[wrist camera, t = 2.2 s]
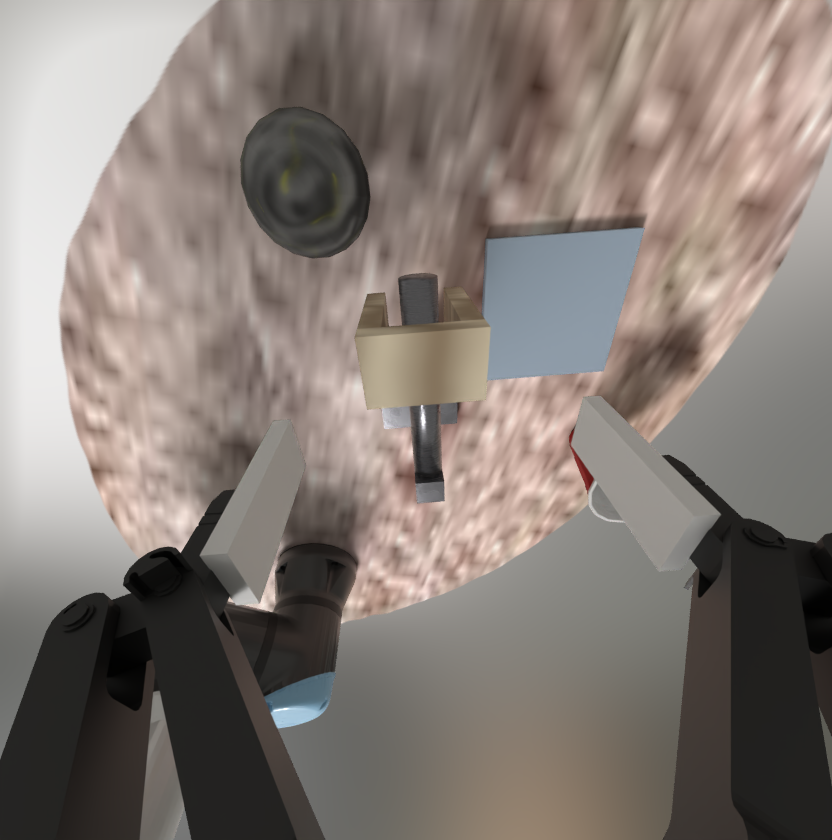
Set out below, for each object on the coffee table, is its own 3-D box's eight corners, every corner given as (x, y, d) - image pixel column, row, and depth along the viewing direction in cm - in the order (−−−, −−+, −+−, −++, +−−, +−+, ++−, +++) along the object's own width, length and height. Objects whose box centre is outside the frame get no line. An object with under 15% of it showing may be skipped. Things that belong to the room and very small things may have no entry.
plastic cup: (620, 391, 45) (683, 445, 35) (628, 445, 51) (684, 505, 41) (543, 421, 48) (582, 480, 38) (559, 470, 53) (596, 532, 43)
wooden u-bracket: (375, 349, 31) (367, 409, 22) (367, 293, 28) (354, 337, 19) (460, 342, 31) (485, 400, 22) (461, 286, 28) (490, 327, 19)
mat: (478, 377, 43) (480, 380, 42) (485, 238, 34) (487, 239, 33) (599, 367, 43) (603, 371, 42) (638, 227, 34) (644, 227, 33)
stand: (384, 422, 46) (379, 534, 31) (360, 248, 34) (331, 290, 19) (455, 417, 46) (484, 525, 31) (456, 240, 34) (506, 276, 19)
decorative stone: (394, 185, 31) (394, 181, 23) (335, 271, 35) (317, 295, 27) (300, 87, 27) (258, 39, 19) (245, 197, 31) (191, 197, 23)
